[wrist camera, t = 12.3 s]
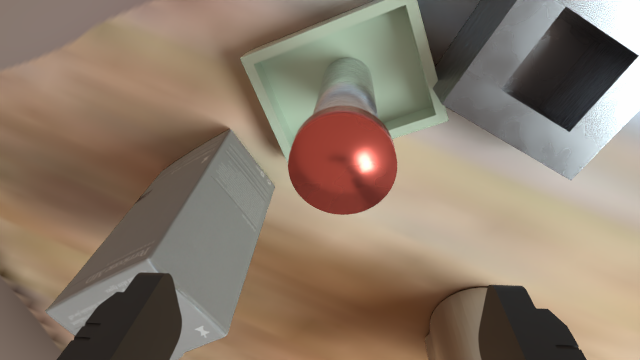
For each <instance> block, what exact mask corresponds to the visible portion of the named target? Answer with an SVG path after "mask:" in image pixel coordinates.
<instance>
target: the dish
mask: <svg viewBox="0 0 640 360" xmlns="http://www.w3.org/2000/svg"><path fill="white" fill-rule="evenodd" d="M343 57H352V58H356V59H359V60H360V61H362V62H363V63H364V64H366V66H367V67H368V68H369V70H370V72H371V75H372V80H373V87H374V94H375V100H376V107H377V114H378V119H379V120H381V121H382V123H383V124H384V125H385V126H386V128H387V129H388V131H389V133H390V135H391V137H392V139H394V138H397V137H400V136H403V135H406V134H409V133H412V132H416V131H419V130H422V129H425V128H428V127H431V126H434V125H437V124H441V123H444V122H447V121H449V120H448V116H447V112H446V109H445V106H444V105H442V104H441V102H440V100H439V99H438V97H437V95H436V94H435V92H434V90H433V87H434V86H435V84H436V83H437V81H438V78H437V74H436V71H435V67H434V63H433V59H432V55H431V52H430V48H429V44H428V40H427V36H426V32H425V29H424V25H423V21H422V17H421V13H420V10H419V6H418V2H417V0H375V1H372V2H370V3H367V4H365V5H362V6H360V7H357V8H355V9H352V10H350V11H347V12H345V13H342V14H340V15H337V16H335V17H332V18H330V19H327V20H325V21H322V22H320V23H317V24H315V25H312V26H310V27H307V28H305V29H302V30H300V31H297V32H295V33H292V34H290V35H287V36H285V37H282V38H280V39H278V40H275V41H273V42H270V43H268V44H265V45H263V46H260V47H258V48H255V49H253V50H250V51H248V52H247V53H246V54H244V55H243V56H242V57H241V58H240V60H241V62H242V64H243V66H244V68H245V71H246V73H247V75H248V77H249V79H250V81H251V84H252V86H253V88H254V90H255V92H256V95H257V97H258V99H259V101H260V103H261V106H262V108H263V110H264V112H265V114H266V117H267V119H268V121H269V123H270V125H271V128H272V130H273V132H274V134H275V136H276V138H277V141H278V143H279V145H280V147H281V149H282V152H283V154H284V156H285V158H286V160H287V163H288V159H289V154H290V150H291V147H292V144H293V142H294V139H295V136H296V134H297V132H298V130H299V128H300V127H301V125H302V124H303V123H304V122H305V121H306V120H307V119H308V118H309V117H310V116H312V115H313V112H314V108H315V105H316V101H317V98H318V94H319V90H320V87H321V83H322V80H323V76H324V73H325V71H326V69H327V68H328V66H329V65H330V64H331V63H332V62H334V61H335V60H337V59H340V58H343Z"/></svg>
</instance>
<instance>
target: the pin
mask: <svg viewBox="0 0 640 360" xmlns="http://www.w3.org/2000/svg"><path fill="white" fill-rule="evenodd" d="M288 170H289V176H290V179H291V182H292V184H293V186H294V188H295V190H296V191H297V192H298V194H299V195H300V196H301V197H302V198H303V199H304V200H305V201H306V202H307V203H309V204H310V205H312V206H313V207H315V208H317V209H319V210H321V211H324V212H328V213H332V214H341V215H344V214H354V213H359V212H362V211H365V210H367V209H369V208H371V207H373V206H375V205H376V204H377V203H379V202H380V201H381V200H382V199H383V198H384V197H385V196H386V195H387V194H388V192H389V191H390V189H391V188H392V186H393V183H394V181H395V178H396V173H397V159H396V153H395V148H394V144H393V140H392V137H391V135H390V133H389V131H388V129H387V128H386V126H385V125H384V124H383V123H382V121H381V120H379V119H378V114H377V107H376V100H375V94H374V87H373V80H372V75H371V72H370V70H369V68H368V67H367V66H366V64H364V63H363V62H362V61H360V60H359V59H356V58H352V57H343V58H340V59H337V60H335V61H334V62H332V63H331V64H330V65H329V66H328V68H327V69H326V71H325V73H324V76H323V80H322V83H321V87H320V90H319V94H318V98H317V101H316V105H315V108H314V112H313V115H312V116H310V117H309V118H308V119H307V120H306V121H305V122H304V123H303V124H302V125H301V127H300V128H299V130H298V132H297V134H296V136H295V139H294V142H293V144H292V147H291V150H290V154H289V159H288Z"/></svg>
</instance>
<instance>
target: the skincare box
mask: <svg viewBox="0 0 640 360" xmlns="http://www.w3.org/2000/svg"><path fill="white" fill-rule="evenodd" d="M274 188H275V186H274V184H273V183H272V182H271V181H270V179H269V178H268V177H267V175H266V174H265V173H264V172H263V170H262V169H261V168H260V166H259V165H258V164H257V163H256V161H255V160H254V159H253V158H252V156H251V155H250V154H249V152H248V151H247V150H246V149H245V147H244V146H243V145H242V143H241V142H240V141H239V140H238V138H237V137H236V135H235V134H234V132H233V131H232V130H231V129H229V130H227V131H225V132H224V133H222V134H220V135H218V136H216V137H215V138H213V139H211V140H209V141H208V142H206V143H204V144H203V145H201V146H199V147H198V148H196V149H194V150H193V151H191V152H189V153H188V154H186V155H185V156H183V157H182V158H180V159H179V160H177V161H176V162H174V163H173V164H171V165H170V166H168V167H167V168H166V169H164V170H163V171H162V172H160V174H159V175H158V176H157V177H156V179H155V180H154V181H153V182H152V183H151V185H150V186H149V187H148V188H147V190H146V191H145V192H144V193H143V195H142V196H141V197H140V198H139V199H138V201H137V202H136V203H135V204H134V206H133V207H132V208H131V209H130V210H129V212H128V213H127V214H126V215H125V217H124V218H123V219H122V220H121V221H120V223H119V224H118V225H117V226H116V227H115V229H114V230H113V231H112V232H111V233H110V235H109V236H108V237H107V238H106V240H105V241H104V242H103V243H102V244H101V246H100V247H99V248H98V249H97V250H96V252H95V253H94V254H93V255H92V257H91V258H90V259H89V260H88V261H87V263H86V264H85V265H84V266H83V268H82V269H81V270H80V271H79V272H78V274H77V275H76V276H75V277H74V278H73V280H72V281H71V282H70V283H69V284H68V286H67V287H66V288H65V289H64V290H63V291H62V293H61V294H60V295H59V296H58V297H57V299H56V300H55V301H54V302H53V303H52V304H51V306H50V307H49V308H48V309H46V310H45V311H46V313H47V314H48V315H49V316H51V317H52V318H53V319H54V320H55V321H57V322H58V323H59V324H60V325H62V326H63V327H64V328H65V329H67V330H68V331H69V332H71V333H72V334H73V335H74V336H75V335H76V334H77V333H78V331H79V330H80V329H81V327H82V326H85V322H86V321H87V320H88V318H89V317H90V316H91V314H92V313H93V312H94V310H95V309H96V308H97V307H98V306H99V305H100V304H101V303H103V302H104V301H105V300H107V299H108V298H109V297H111V296H112V295H113V294H115V293H116V292H124V291H125V290H126V288H127V287H128V286H129V284H130V283H131V281H132V280H133V279H134V277H135V276H136V275H137V274H138V273H140V272H149V273H169V274H171V276H172V278H173V281H174V285H175V290H176V294H177V298H178V303H179V307H180V312H181V316H182V329H181V335H180V338H179V341H178V343H177V345H176V347H175V350H174V352H173V354H172V356H171V358H170V360H178V359H179V358H181V357H182V356H183V354H184V353H185V352H187V351H190V350H193V349H195V348H198V347H200V346H203V345H205V344H208V343H210V342H213V341H216V340H218V339H221V338H223V337H225V336H226V335H227V334H228V331H229V328H230V324H231V321H232V318H233V315H234V311H235V308H236V305H237V302H238V299H239V296H240V293H241V290H242V287H243V284H244V280H245V277H246V274H247V271H248V268H249V265H250V262H251V259H252V256H253V253H254V249H255V246H256V243H257V240H258V237H259V234H260V231H261V228H262V225H263V222H264V219H265V216H266V212H267V209H268V206H269V203H270V200H271V197H272V194H273V191H274Z"/></svg>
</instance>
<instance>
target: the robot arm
mask: <svg viewBox="0 0 640 360" xmlns="http://www.w3.org/2000/svg"><path fill="white" fill-rule="evenodd" d="M181 329H182V316H181V312H180V307H179V303H178V298H177V294H176V290H175V285H174V281H173V278H172V276H171V274H169V273H149V272H140V273H138V274H137V275H136V276H135V277H134V279H133V280H132V281H131V283H130V284H129V286H128V287H127V288H126V290H125V291H124V292H116V293H115V294H113V295H112V296H111V297H109V298H108V299H107V300H105V301H104V302H103V303H101V304H100V305H99V306H98V307H97V308H96V309H95V310H94V312H93V313H92V314H91V316H90V317H89V318H88V320H87V321H86V322H85V326H82V327H81V329H80V330H79V331H78V333H77V334H76V335H75V337H74V340H73V341H71V342H70V343H69V344H68V346H67V347H66V348H65V350H64V351H63V352H62V353H61V355H60V356H59V357H58V359H57V360H170V358H171V356H172V354H173V352H174V350H175V347H176V345H177V343H178V341H179V338H180V335H181ZM425 344H426V350H427V355H428V360H587V359H586V358H585V356H584V354H583V353H582V351H581V350H579V348H578V344H577V342H576V341H575V339H574V337H573V336H572V334H571V332H570V331H569V329H568V327H567V326H566V325H565V324H564V323H563V322H562V321H561V320H560V319H558V318H557V317H556V316H555V315H554V314H553V313H552V312H551V311H550V310H548V309H536V308H535V306H534V304H533V302H532V300H531V298H530V296H529V295H528V293H527V291H526V289H525V288H524V287H523V286H508V285H489V286H488V288H473V289H467V290H464V291H460V292H457V293H455V294H453V295H451V296H449V297H448V298H446V299H445V300H443V301H442V302H441V303H440V304H439V305H438V306H437V307H436V308H435V310H434V312H433V314H432V315H431V319H430V333H429V334H428V335H427V336H426V337H425Z"/></svg>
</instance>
